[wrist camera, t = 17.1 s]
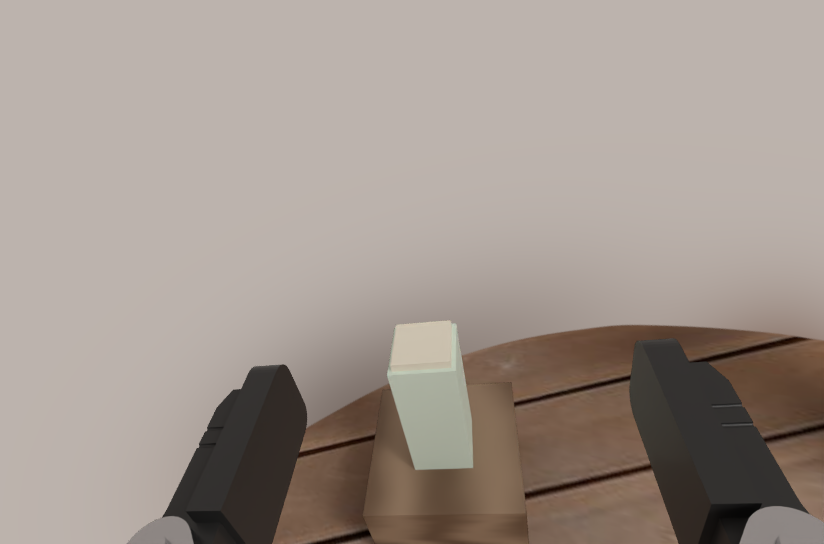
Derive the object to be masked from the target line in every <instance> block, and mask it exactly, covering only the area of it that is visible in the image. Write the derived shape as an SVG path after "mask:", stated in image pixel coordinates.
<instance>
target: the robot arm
mask: <svg viewBox="0 0 824 544" xmlns="http://www.w3.org/2000/svg"><path fill="white" fill-rule="evenodd" d="M630 402H631V407H632V412H633V415H634V418H635V421H636V424H637V427H638V430H639V432H640V435H641V438H642V441H643V444H644V447H645V449H646V452H647V455H648V458H649V461H650V463H651V466H652V469H653V472H654V475H655V478H656V480H657V483H658V486H659V489H660V492H661V495H662V497H663V500H664V503H665V506H666V509H667V512H668V514H669V517H670V520H671V523H672V526H673V529H674V531H675V534H676V537H677V540H678V543H679V544H824V523H823V522H822V521H820V520H819V519H817V518H815V517H813V516H812V515H810V514H809V513H808V511H807V510H806V509H805V508H804V507H803V505H802V504H801V502H800V501H799V499H798V498H797V496H796V495H795V493H794V491H793V489H792V488H791V486H790V484H789V483H788V481H787V479H786V477H785V476H784V474H783V472H782V471H781V469H780V467H779V465H778V464H777V462H776V460H775V459H774V457H773V455H772V454H771V452H770V450H769V448H768V447H767V445H766V443H765V442H764V440H763V438H762V436H761V435H760V433H759V431H758V430H757V428H756V427H754V426H753V421H752V419H751V418H750V416H749V414H748V413H747V411H746V409H745V408H743V407H742V402H741V401H740V399H739V397H738V395H737V394H736V392H735V390H734V389H733V387H732V385H731V383H730V382H729V380H728V379H726V378H725V377H724V376H723V375H722V374H720V373H719V372H718V371H717V370H716V369H715V368H713V367H712V366H711V365H710V364H709V363H707V362H694V363H689V361H688V359H687V357H686V355H685V353H684V351H683V349H682V348H681V346H680V344H679V342H678V341H677V340H676V339H674V338H673V339H658V340H644V341H637V342H636V343H635V347H634V355H633V363H632V372H631V380H630ZM306 425H307V411H306V406H305V403H304V401H303V399H302V397H301V394H300V392H299V390H298V388H297V386H296V384H295V381H294V379H293V377H292V375H291V373H290V371H289V369H288V367H287V366H286V365H270V366H256V367H253V368H252V369H251V370H250V371H249V373H248V375H247V378H246V380H245V382H244V384H243V387H242V389H239V390H233V391H232V392H231V393H230V394H229V395H228V396H227V397H226V398H225V399H224V400H223V402H222V403H221V404H220V405H219V406H218V407H217V408H216V410H215V412H214V415H213V417H212V419H211V421H210V423H209V425H208V427H207V429H208V430H207V431H206V432H205V433H204V435H203V437H202V439H201V441H200V443H199V448H197V449H196V451H195V453H194V456H193V457H192V459H191V462H190V463H189V466H188V468H187V470H186V472H185V474H184V476H183V478H182V480H181V482H180V484H179V486H178V488H177V490H176V492H175V494H174V496H173V498H172V500H171V502H170V504H169V506H168V508H167V510H166V512H165V514H164V515H163V517H162V518H160V519H157V520H155V521H153V522H151V523H149V524H148V525H146V526H145V527H143V528H142V529H141V530H140V531H138V532H137V533H136V534H135V535H134V536H133V537H132V538H131V540H130V541H129V542H128V543H127V544H272V542H273V539H274V535H275V532H276V528H277V525H278V522H279V518H280V515H281V512H282V508H283V505H284V501H285V498H286V495H287V491H288V488H289V485H290V481H291V478H292V474H293V471H294V468H295V464H296V461H297V458H298V454H299V451H300V447H301V444H302V441H303V437H304V434H305V430H306Z"/></svg>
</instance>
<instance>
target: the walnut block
mask: <svg viewBox="0 0 824 544" xmlns="http://www.w3.org/2000/svg"><path fill="white" fill-rule="evenodd" d="M466 387H467V393H468V399H469V405H470V411H471V417H472V442H473V468H459V469H428V470H415V468H414V464H413V461H412V458H411V454H410V451H409V447H408V444H407V441H406V437H405V434H404V431H403V427H402V424H401V421H400V417H399V414H398V411H397V407H396V404H395V401H394V397H393V394H392V390H391V389H389V390H382V396H381V403H380V409H379V415H378V422H377V428H376V434H375V441H374V447H373V453H372V460H371V466H370V472H369V478H368V485H367V491H366V497H365V504H364V510H363V518H364V520H365V522H366V525H367V527H368V529H369V531H370V534H371V536H372V538H373V540H374V542H375V544H529V538H528V525H527V512H526V504H525V495H524V487H523V478H522V469H521V461H520V452H519V443H518V435H517V426H516V417H515V409H514V400H513V392H512V383H511V382H507V383H490V384H474V385H466Z"/></svg>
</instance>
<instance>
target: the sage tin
mask: <svg viewBox="0 0 824 544" xmlns="http://www.w3.org/2000/svg"><path fill="white" fill-rule="evenodd" d="M387 377H388V380H389V384H390V387H391V390H392V394H393V397H394V401H395V404H396V407H397V411H398V414H399V417H400V421H401V424H402V427H403V431H404V434H405V437H406V441H407V444H408V447H409V451H410V454H411V458H412V461H413V464H414V468H415V470H428V469H459V468H473V442H472V417H471V411H470V405H469V399H468V393H467V387H466V380H465V374H464V368H463V362H462V356H461V350H460V344H459V338H458V332H457V326H456V324H451V320H449V321H437V322H425V323H412V324H400V325H396V328H395V329H394V333H393V340H392V346H391V353H390V359H389V366H388V373H387Z"/></svg>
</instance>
